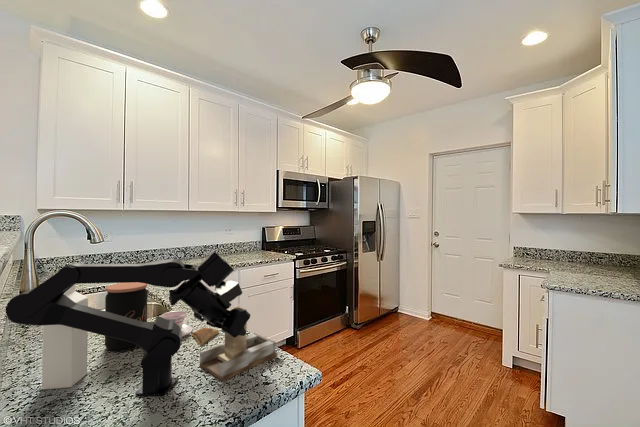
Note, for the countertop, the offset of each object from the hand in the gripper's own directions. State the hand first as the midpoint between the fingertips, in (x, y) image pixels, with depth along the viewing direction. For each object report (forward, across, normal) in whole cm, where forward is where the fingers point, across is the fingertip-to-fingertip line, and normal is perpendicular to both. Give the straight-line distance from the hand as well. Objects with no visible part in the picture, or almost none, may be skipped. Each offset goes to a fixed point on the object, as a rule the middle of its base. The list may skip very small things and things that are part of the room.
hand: (240, 331), depth 81 cm
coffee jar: (-7, +34, +18) cm, 39 cm away
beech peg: (+4, 0, +6) cm, 7 cm away
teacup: (+3, +34, +9) cm, 35 cm away
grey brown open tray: (+6, 0, +6) cm, 8 cm away
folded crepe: (+8, +22, +5) cm, 24 cm away
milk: (-18, +22, +29) cm, 40 cm away
